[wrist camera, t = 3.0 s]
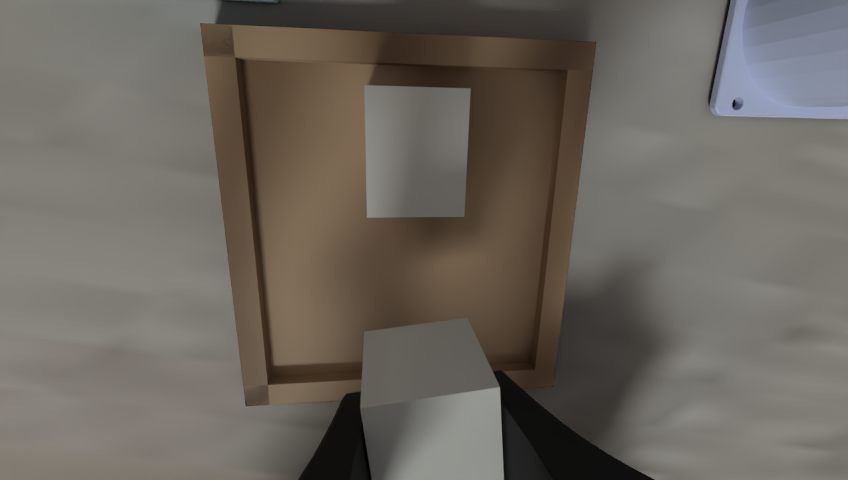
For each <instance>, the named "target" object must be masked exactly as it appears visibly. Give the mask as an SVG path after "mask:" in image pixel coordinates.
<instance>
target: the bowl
mask: <svg viewBox="0 0 848 480" xmlns="http://www.w3.org/2000/svg"><path fill="white" fill-rule="evenodd" d="M226 1H244V2H263V3H276V4H277V3H278V2H279V1H280V0H226Z"/></svg>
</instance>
